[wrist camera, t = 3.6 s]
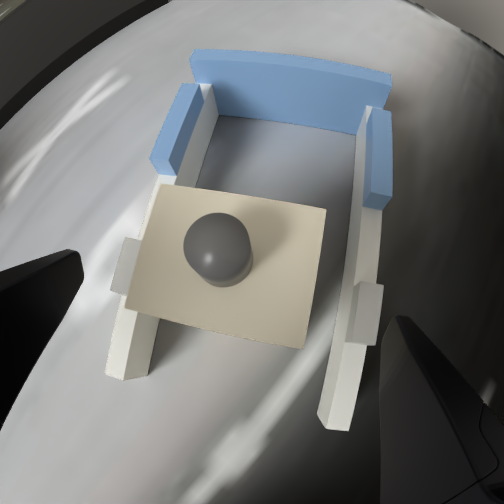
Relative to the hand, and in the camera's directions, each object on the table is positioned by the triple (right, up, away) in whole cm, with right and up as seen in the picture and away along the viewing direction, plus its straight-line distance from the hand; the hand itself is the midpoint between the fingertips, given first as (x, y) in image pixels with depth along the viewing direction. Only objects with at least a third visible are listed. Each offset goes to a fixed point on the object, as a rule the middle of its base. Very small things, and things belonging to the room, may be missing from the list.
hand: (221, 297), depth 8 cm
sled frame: (+1, +2, +9) cm, 9 cm away
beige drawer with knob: (+1, -2, +8) cm, 8 cm away
